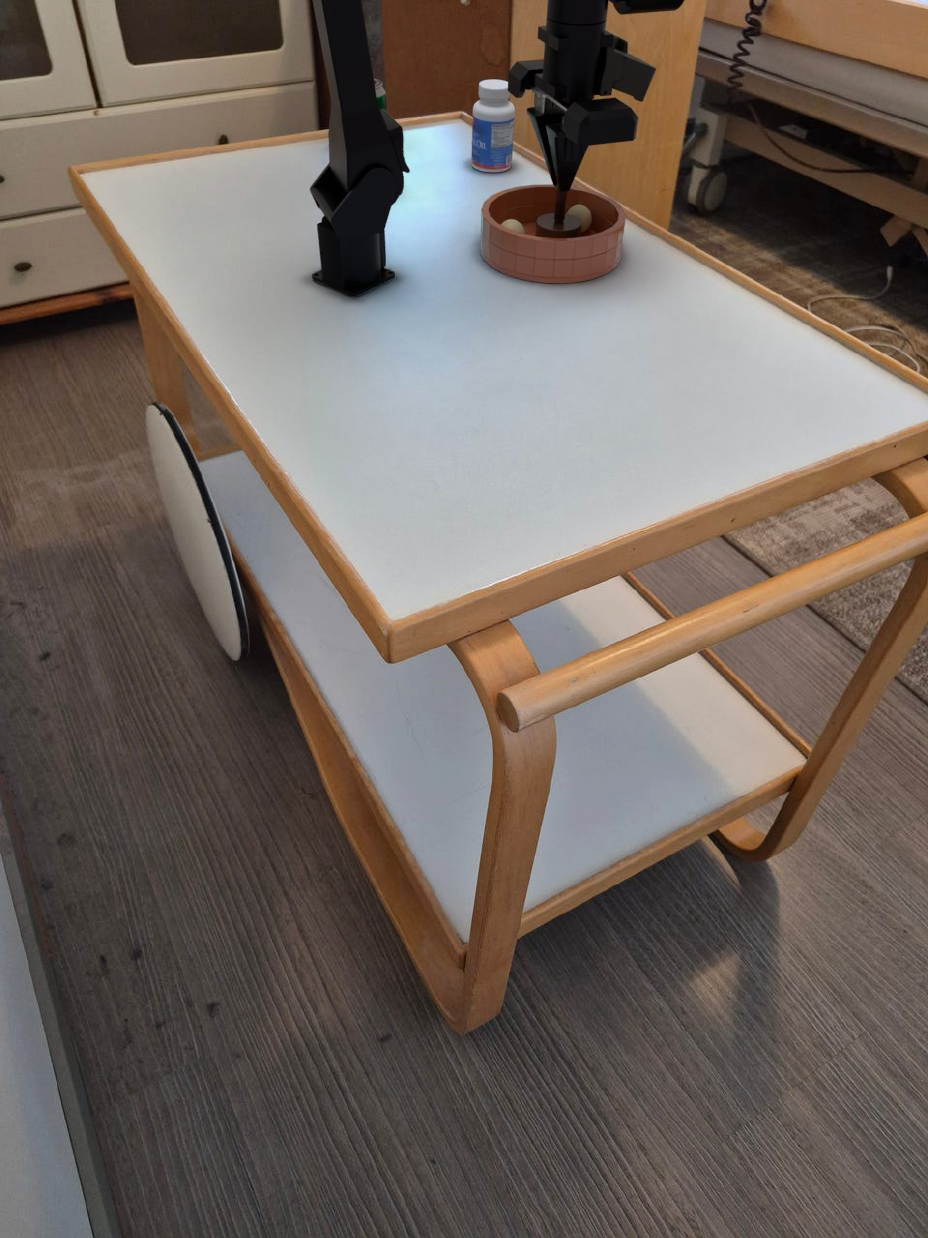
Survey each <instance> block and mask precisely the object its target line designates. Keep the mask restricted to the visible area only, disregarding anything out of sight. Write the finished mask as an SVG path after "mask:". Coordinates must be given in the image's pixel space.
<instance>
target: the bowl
mask: <svg viewBox="0 0 928 1238" xmlns="http://www.w3.org/2000/svg"><path fill="white" fill-rule="evenodd" d="M556 188H557V187H555V186H554V185H553V183H552V184H551V183H549V184H528V185H527V184H526V185H520V186H515V187H511V188H507V189H504V190H503V189H502V190H501V191H498V192H496V193H494V194H492V195H490V196H489V197H488V198H487V199H485V201H484V202H483V204H482V206H481V209H480V210H481V211H480V237H479V238H480V239H479V244H480V254H481V257H482V259H483V260H484V261H485V263H486V264H487V265H488V266H490V267H491V268H493V269H494V270H495V271H498V272H499V273H502V274H504V275H507V276H509V277H512V278H515V279H519V280H524V281H528V282H533V283H534V282H535V283H540V284H541V283H542V284H573V283H581V282H586V281H590V280H594V279H598V278H600V277H602V276H604V275H606V274H609V273H610V272H612V271H613V270H614V269H615V268H616V267H617V266H618V264H619V262H620V259H621V255H622V246H623V241H624V240H623V239H624V232H625V226H626V217H627V213H626V211H625V209H624V207H623V206H622V205H621V204H620V203H618V202H617V201H616V200H615V199H613V198H611V197H609V196H608V195H605V194H603V193H601V192H597V191H596V190H595V191H594V190H591V189H588V188H583V187H578V186H573V185H572V186H571V188H570V190H569V191H567V201H566V211H565V214H567V212H568V210H569V209H570V208H571V207H573V206H575V205H583V206H585V207H587V208H588V209H589V211H590V212H591V216H592V222H591V225H590V227H589V228H588V229H587V230H586V231H585V232H583V233H581V234H580V237H578V238H546V237H537V236H535V233H536V220H537V218H538V217H540V216H542V215H544V214H549V213H554V211H555V199H556ZM509 219H514V220H517V221H518V222H520V223H521V224H522V226H523V228H524V231H525V234H522V233H519V232H516V231H513V230H510V229H507V228H505V227H503V226H502V225H501V224H502V223H503V222H504V221H506V220H509Z"/></svg>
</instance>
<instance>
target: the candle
mask: <svg viewBox="0 0 928 1238" xmlns="http://www.w3.org/2000/svg"><path fill="white" fill-rule="evenodd" d="M362 5H363V11H364V18H365V24H366V31H367V37H368V44H369V50H370V57H371V63H372V70H373V76H374V79H378V80H380V81H382V84H383V85H382V87H383V89H384V90H385V92H386V93H387V83H386V67H385V53H384V52H385V51H384V30H383V15H382V13H383V12H382V0H362ZM386 103H387V104H388V99H387V96H386Z"/></svg>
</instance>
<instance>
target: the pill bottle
mask: <svg viewBox="0 0 928 1238" xmlns="http://www.w3.org/2000/svg"><path fill="white" fill-rule="evenodd" d="M477 93H478V98H479V100H477V101H475V103H474V104H473V107H472V119H471V120H472V121H471V157H470V158H471V166H472V167H473V168H474V169H475V170H477V171H480V172H483V173H502V172H505V171H508V170H509V169H510V168H511V167H512V164H513V152H514V150H513V149H514V135H515V134H514V133H515V118H516V117H515V115H516V109H515V108H516V107H515V106H514V104H513V103H512V102H511V101H510V100H509V99H510V98H511V95H512V94H511V93H510V92H508V81H506V80H504V79H503V80H502V79H496V78H495V79H492V78H491V79H484V80H481V81H479V83H478V92H477Z"/></svg>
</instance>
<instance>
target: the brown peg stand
mask: <svg viewBox="0 0 928 1238" xmlns="http://www.w3.org/2000/svg"><path fill="white" fill-rule="evenodd" d="M566 201H567V191H566V192H561V191H560V190H559V188H558V183H557V188H556V199H555V211H554V213H549V214H544V215H542V216H540V217H538V218H537V220H536V233H535V236H537V237H546V238H578V237H580V234H581V225H582V223H581V220H580V219H579V218H577V217H575V216H573V215H569V214H565V211H566Z"/></svg>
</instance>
